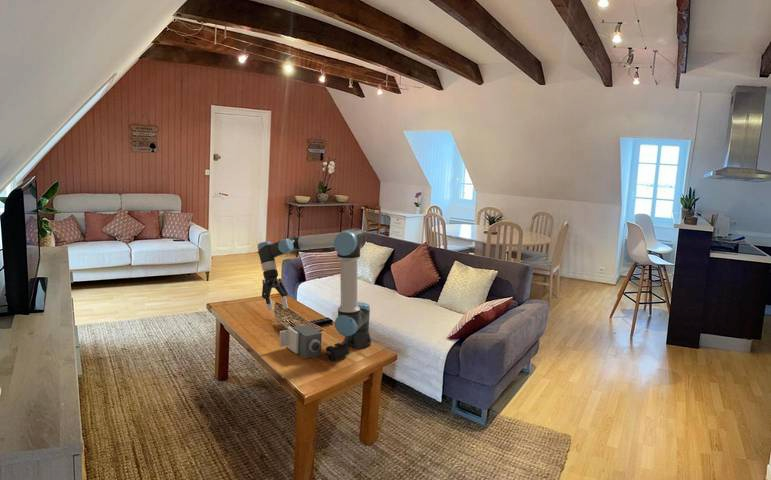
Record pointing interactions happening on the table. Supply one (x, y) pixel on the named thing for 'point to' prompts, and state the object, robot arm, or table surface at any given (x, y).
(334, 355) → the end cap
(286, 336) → the side door
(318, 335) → the camera housing
